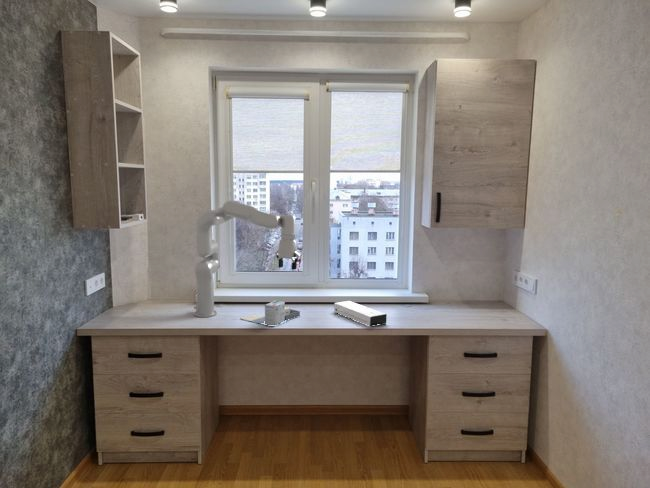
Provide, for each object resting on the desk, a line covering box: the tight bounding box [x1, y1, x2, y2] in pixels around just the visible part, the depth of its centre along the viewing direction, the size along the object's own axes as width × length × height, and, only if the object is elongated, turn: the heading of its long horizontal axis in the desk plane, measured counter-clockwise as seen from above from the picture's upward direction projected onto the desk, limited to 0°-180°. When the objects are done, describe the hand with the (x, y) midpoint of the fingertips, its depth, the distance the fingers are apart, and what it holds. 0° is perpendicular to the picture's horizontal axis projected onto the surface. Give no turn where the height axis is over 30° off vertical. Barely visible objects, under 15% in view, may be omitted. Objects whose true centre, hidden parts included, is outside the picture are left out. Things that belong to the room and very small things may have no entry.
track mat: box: [239, 313, 265, 325], centre depth 241 cm, size 24×12×1 cm, turn 54°
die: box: [285, 306, 291, 315], centre depth 249 cm, size 5×5×5 cm
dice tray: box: [285, 308, 301, 321], centre depth 249 cm, size 12×12×3 cm
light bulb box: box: [264, 300, 286, 325], centre depth 236 cm, size 11×7×11 cm, turn 157°
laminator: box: [333, 300, 387, 326], centre depth 249 cm, size 34×12×6 cm, turn 33°
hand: (287, 268), depth 242 cm, fingers open, 9 cm apart
